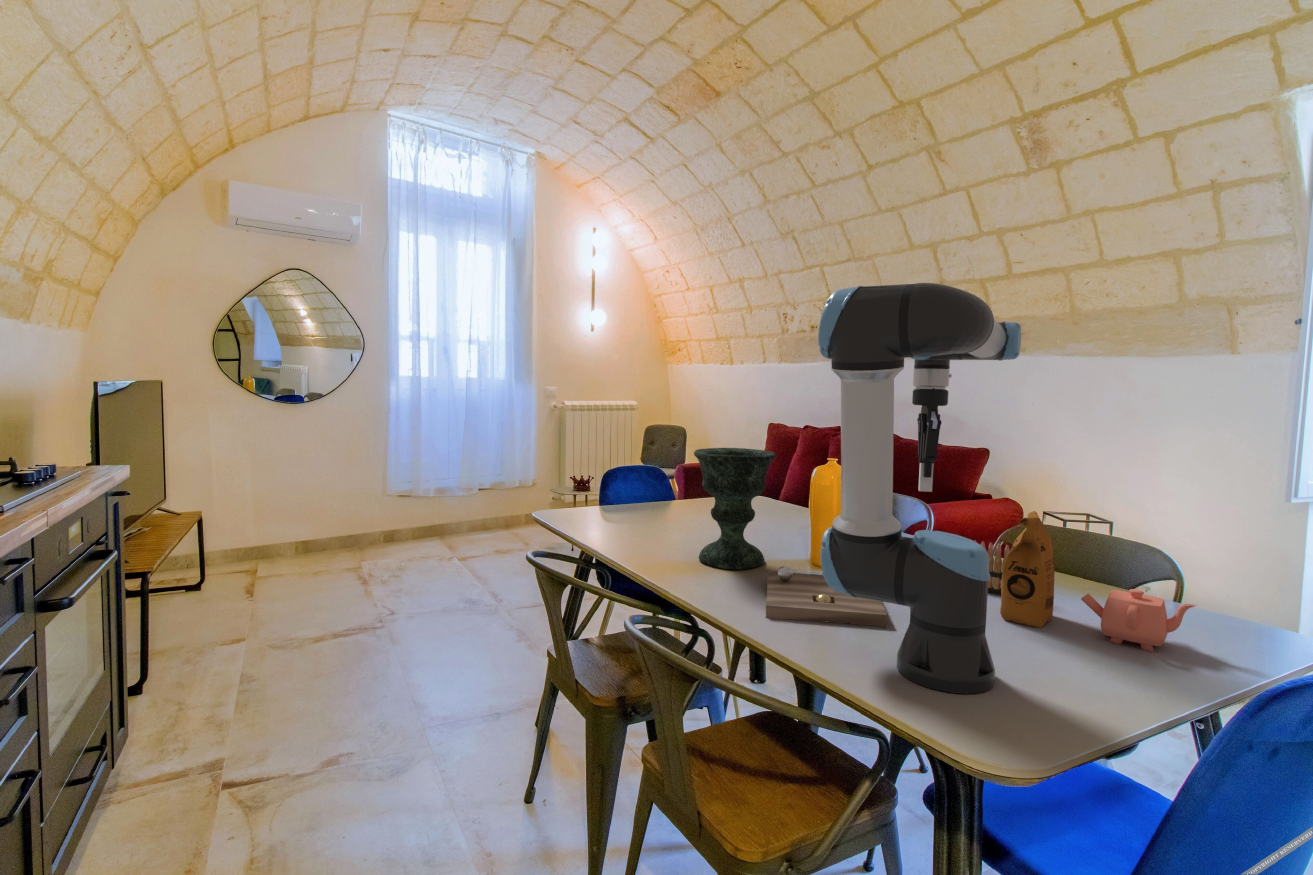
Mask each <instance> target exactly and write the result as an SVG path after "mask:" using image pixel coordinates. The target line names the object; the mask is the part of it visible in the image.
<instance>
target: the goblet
mask: <svg viewBox="0 0 1313 875" xmlns="http://www.w3.org/2000/svg"><path fill="white" fill-rule="evenodd" d="M693 455H694V456H695V457H696V458H697V460H698V462H699V467H700V470H701V473H702V481H701V482H702V483H701V486H702V488H703V489H704V491H705V492H707V493H708V494H709V495H710V496H712V497H713V498H714V505H713V507H712V508H711V509H710V515H711V517H712V519H713V520H714V521H715V522H716V523H717V524H718V525H717V526H718V527H719V529H720V536H719V538H718V539H717V540H715V541H713V542H709V543H708V544H706V545H705V546H704V547H703V548H702V549H701V550H700V551H699V552H700V553H699V555H698V559H699V561H701V563H703V564H705V565H707V566H711V567H714V568H718V569H723V570H733V571H734V570H736V571H738V570H748V569H753V568H756V567H759V566H761V565H763V564H764V563H765V560H766V559H765V557H764V554H763V553H762V551H761V550H760V549H759V547H757V546H755V545H753V544H752V543H749V542H748V541H747V540H746V539H745V536H744V532H745V529H746V528H747V526H748V524H749V523H751V522H752V521H753V520H754V518H755V517H756V512H755V509H753V507H752V500H753V499H754V498H756V497H758V496H759V495H761V494H762V493H763V492H764V491H765V489H766V487H767V486H766V478H767V474H768V471H769V468H770V465H771V463H772V462H773V461H774V460H775V459H776V457H777V455H776V453H775V452H774V451H769V450H766V449H765V450H763V449H756V448H755V449H754V448H742V447H711V448H698V449H696V450H695V451H694V452H693Z"/></svg>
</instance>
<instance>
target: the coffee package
mask: <svg viewBox="0 0 1313 875" xmlns="http://www.w3.org/2000/svg"><path fill="white" fill-rule="evenodd" d="M1018 524H1019V525H1022V526H1025V528H1024V529H1023V530H1022V532H1021V533H1019V535H1018V536H1017V537H1016V538H1015V540H1014V542H1013V544H1012V546H1011V548H1009V553H1008V554H1007V557H1006V559H1005V562H1004V566H1003V572H1002V571H1001V572H1002V580H1001V595H1000V596H1001V597H1000V609H999V610H1000V611H999V612H1000V615H1001V618H1002V619H1003V620H1004V621H1007V622H1009V621H1011V622H1012V623H1013V622H1014V623H1015V624H1019V625H1020V624H1021V625H1026V626H1028V627H1034V628H1039V629H1041V628H1043V627H1044V625H1045V624H1046V622H1047V623H1048V622H1050V621H1052V618H1053V614H1054V602H1055V601H1054V600H1055V564H1054V550H1053V549H1054V548H1053V542H1052V538H1051V536H1050V534H1049V532H1048V530H1047V528H1046V527H1045V525H1044V523H1043V522H1042V520H1041V518H1040V516H1039V514H1038V512H1037V511H1030V512H1028V514H1027V517H1023V518H1022V519H1021V520H1018Z"/></svg>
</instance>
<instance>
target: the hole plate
mask: <svg viewBox="0 0 1313 875" xmlns="http://www.w3.org/2000/svg"><path fill="white" fill-rule="evenodd" d="M766 585H767V586H766V603H765V604H766V605H765V618H774V619H783V620H784V619H785V620H797V621H798V620H799V621H807V620H808V622H809V621H810V622H820V621H828V622H827V623H832V622H839V623H838V624H844V623H850V624H849V625H858V626H872V627H882V628H883V627H885V628H887V627H888V613H887V611H886V609H885V607H884V605H883V602H882V601H877V600H871V599H866V598H860V597H852V596H850V595H847V594H843V593H839V592H836V591H834V590H832V589H831V588H830V586H829V585H828V584H827V583H826V581H825V579H824V576H823V574H814V573H812V574H811V573H799V572H797V573H796V572H793V576H792V578H791V579H790V580H788V581H783V580H781V579H780V578H779V577H778V571H771V570H770V571H769V570H768V571H767V583H766ZM820 594H826V595H828V596H829V597H830V598H831V601H832V603H823V602H815V599H816V597H817V596H818V595H820Z"/></svg>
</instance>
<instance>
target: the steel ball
mask: <svg viewBox="0 0 1313 875" xmlns="http://www.w3.org/2000/svg"><path fill="white" fill-rule="evenodd" d="M777 572H778V577H779V578H780V579H781V580H783V581H788V580H790V579H791V578H792V576H793V573H794V572H793V569H792V568H791V567H790V566H788V565H781V566H780V567H779V568H778V569H777Z"/></svg>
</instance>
